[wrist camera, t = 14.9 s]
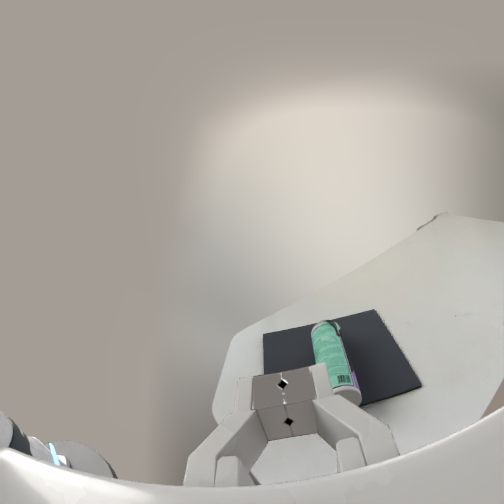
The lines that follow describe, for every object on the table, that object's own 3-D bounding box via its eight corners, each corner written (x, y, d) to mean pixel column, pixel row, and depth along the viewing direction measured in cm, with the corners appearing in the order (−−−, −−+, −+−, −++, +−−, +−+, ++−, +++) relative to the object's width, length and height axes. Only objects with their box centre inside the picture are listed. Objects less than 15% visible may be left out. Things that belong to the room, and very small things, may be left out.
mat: (265, 425, 38) (264, 423, 38) (263, 335, 61) (263, 333, 60) (421, 386, 36) (421, 384, 36) (374, 310, 58) (374, 309, 58)
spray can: (369, 398, 34) (343, 321, 53) (343, 384, 34) (323, 307, 52) (341, 419, 36) (324, 340, 55) (314, 407, 35) (303, 327, 54)
